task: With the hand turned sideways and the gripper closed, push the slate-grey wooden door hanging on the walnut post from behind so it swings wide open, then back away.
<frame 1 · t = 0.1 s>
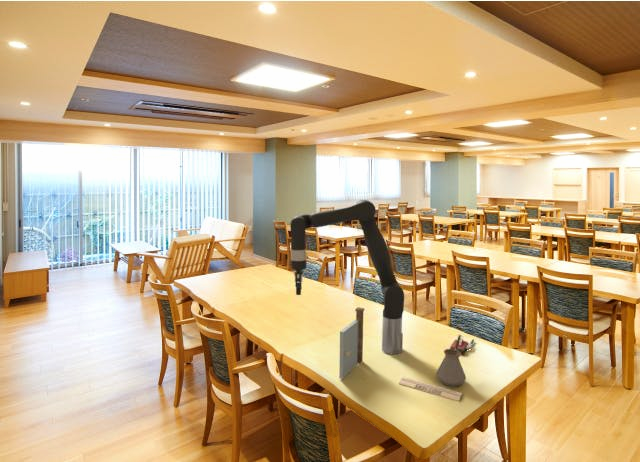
hand: (298, 292, 185), 29 cm above the table, tool pointing down, fingers open, 8 cm apart
tan flat bar: (429, 391, 154), on the table
hinge post: (358, 361, 178), on the table
dried flower sprig: (462, 348, 194), on the table
coffee pot: (453, 377, 165), on the table
door: (351, 348, 167), point 11 cm above the table, hinge at 0.0°
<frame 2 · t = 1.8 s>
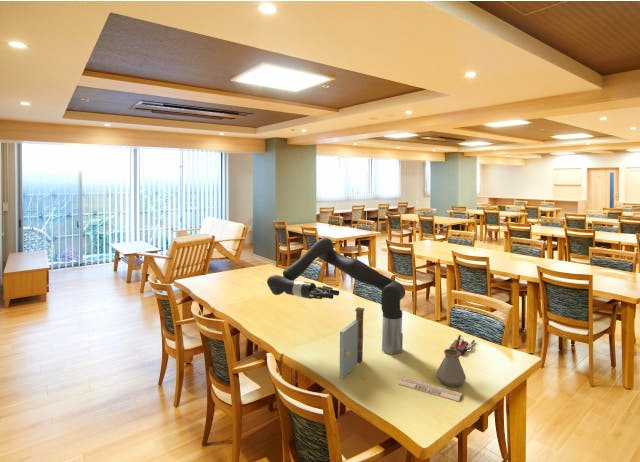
hand: (335, 294, 178), 30 cm above the table, tool horizontal, fingers open, 5 cm apart
nothing on the table moved.
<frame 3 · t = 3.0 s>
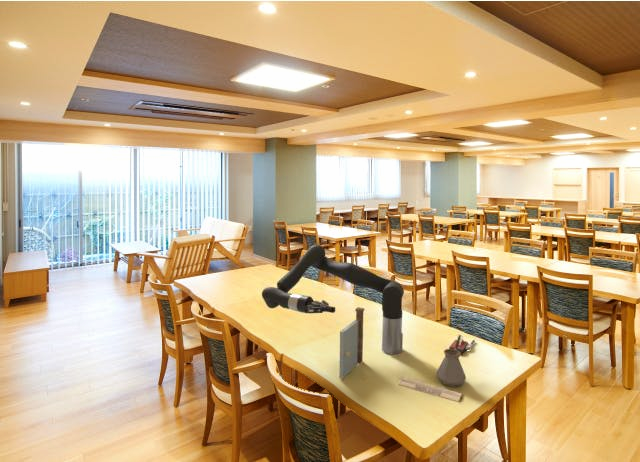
hand: (334, 310, 167), 27 cm above the table, tool horizontal, fingers closed
nothing on the table moved.
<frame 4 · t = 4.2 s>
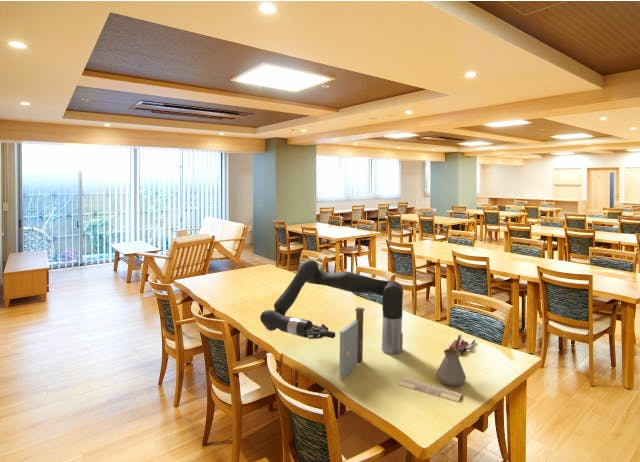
hand: (334, 335, 166), 17 cm above the table, tool horizontal, fingers closed
nothing on the table moved.
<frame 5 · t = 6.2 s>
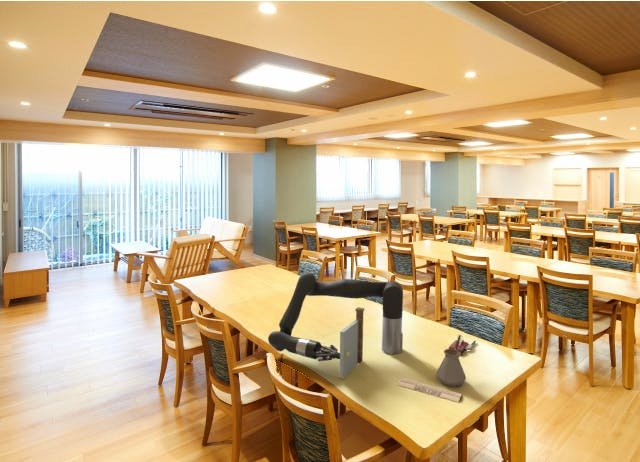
hand: (344, 357, 165), 8 cm above the table, tool horizontal, fingers closed
door: (351, 348, 167), point 11 cm above the table, hinge at 0.4°, touching gripper
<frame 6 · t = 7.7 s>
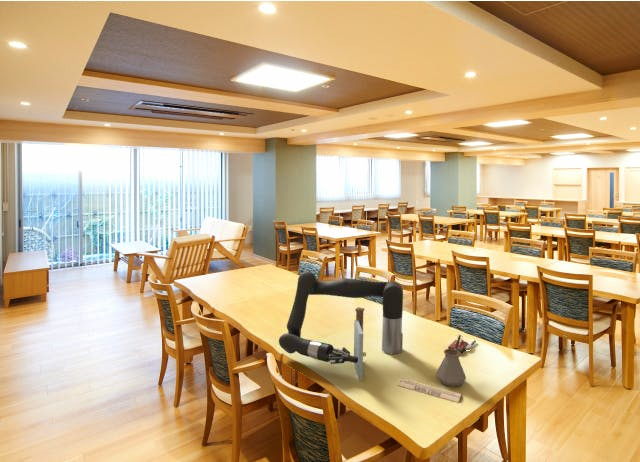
hand: (357, 360, 162), 8 cm above the table, tool horizontal, fingers closed
door: (360, 349, 166), point 11 cm above the table, hinge at 31.0°, touching gripper
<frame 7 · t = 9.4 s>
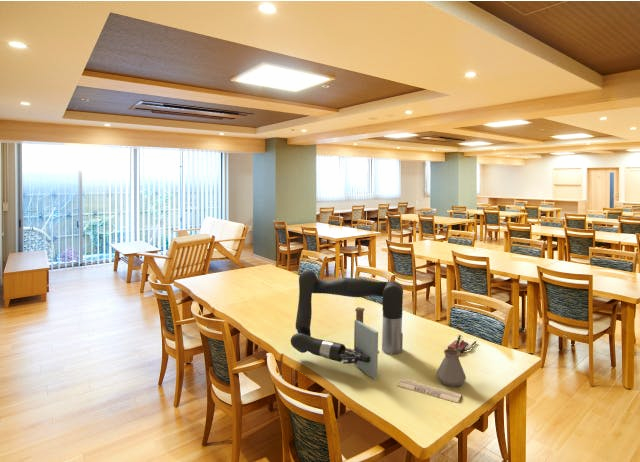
hand: (369, 360, 162), 8 cm above the table, tool horizontal, fingers closed
door: (366, 347, 168), point 11 cm above the table, hinge at 56.6°, touching gripper
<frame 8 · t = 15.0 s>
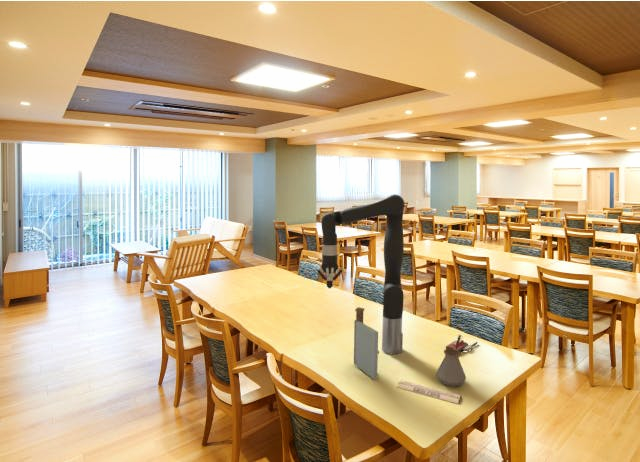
hand: (329, 287, 194), 29 cm above the table, tool pointing down, fingers closed
door: (366, 347, 168), point 11 cm above the table, hinge at 56.6°
at the end: door at +57° (first picture: +0°); coffee pot moved 0.3 cm from its start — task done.
